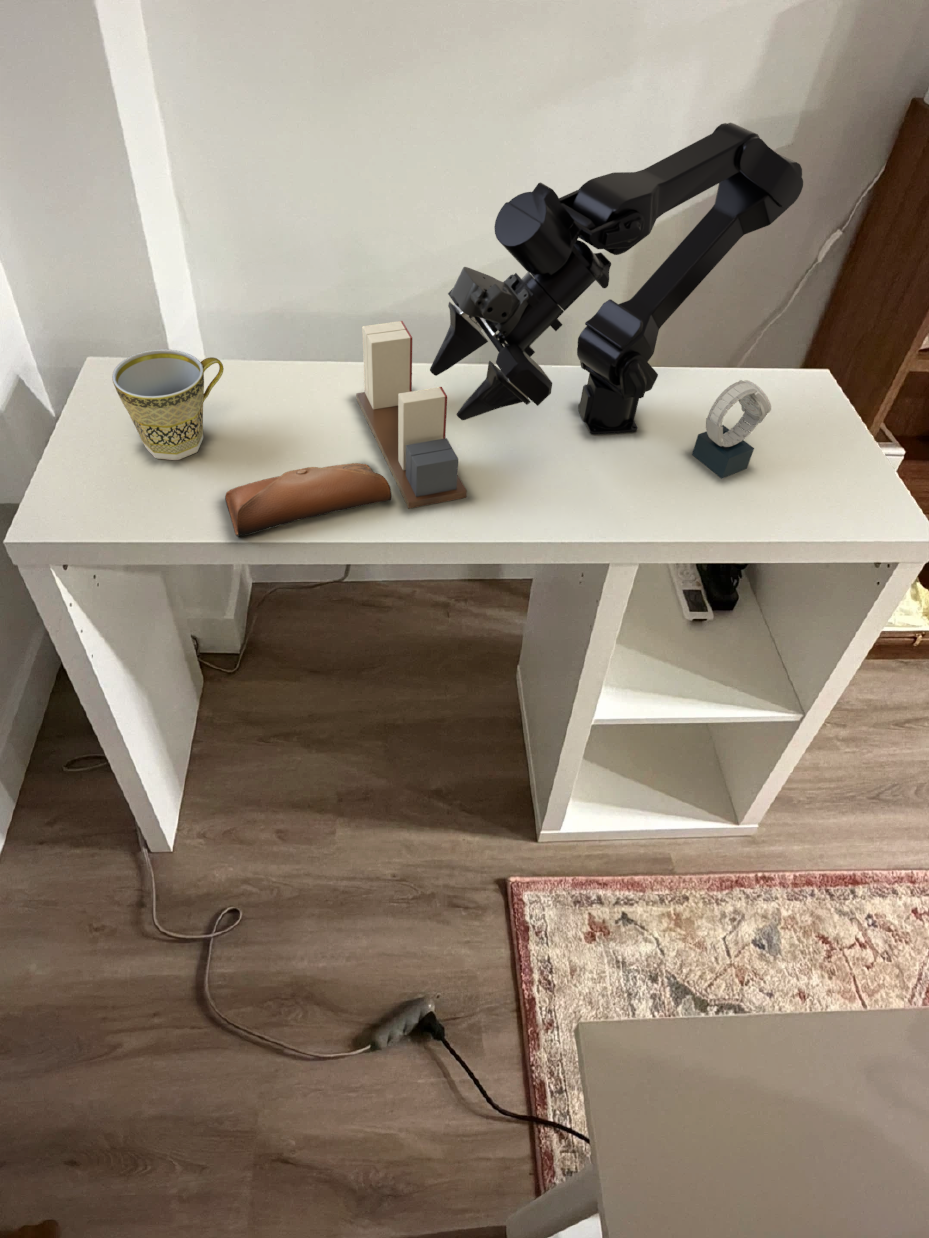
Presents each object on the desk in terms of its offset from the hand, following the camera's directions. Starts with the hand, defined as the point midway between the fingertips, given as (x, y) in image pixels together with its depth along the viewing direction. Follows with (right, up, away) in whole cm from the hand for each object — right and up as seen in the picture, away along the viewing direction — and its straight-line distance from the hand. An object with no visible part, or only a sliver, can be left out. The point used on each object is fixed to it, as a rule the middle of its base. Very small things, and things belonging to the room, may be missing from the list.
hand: (445, 394), depth 98 cm
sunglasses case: (-16, -12, +2) cm, 20 cm away
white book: (-3, -7, +6) cm, 10 cm away
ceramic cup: (-32, -4, +8) cm, 33 cm away
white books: (-8, +3, +15) cm, 17 cm away
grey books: (-2, -10, +4) cm, 11 cm away
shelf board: (-5, -4, +10) cm, 12 cm away
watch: (+35, -6, +11) cm, 37 cm away
